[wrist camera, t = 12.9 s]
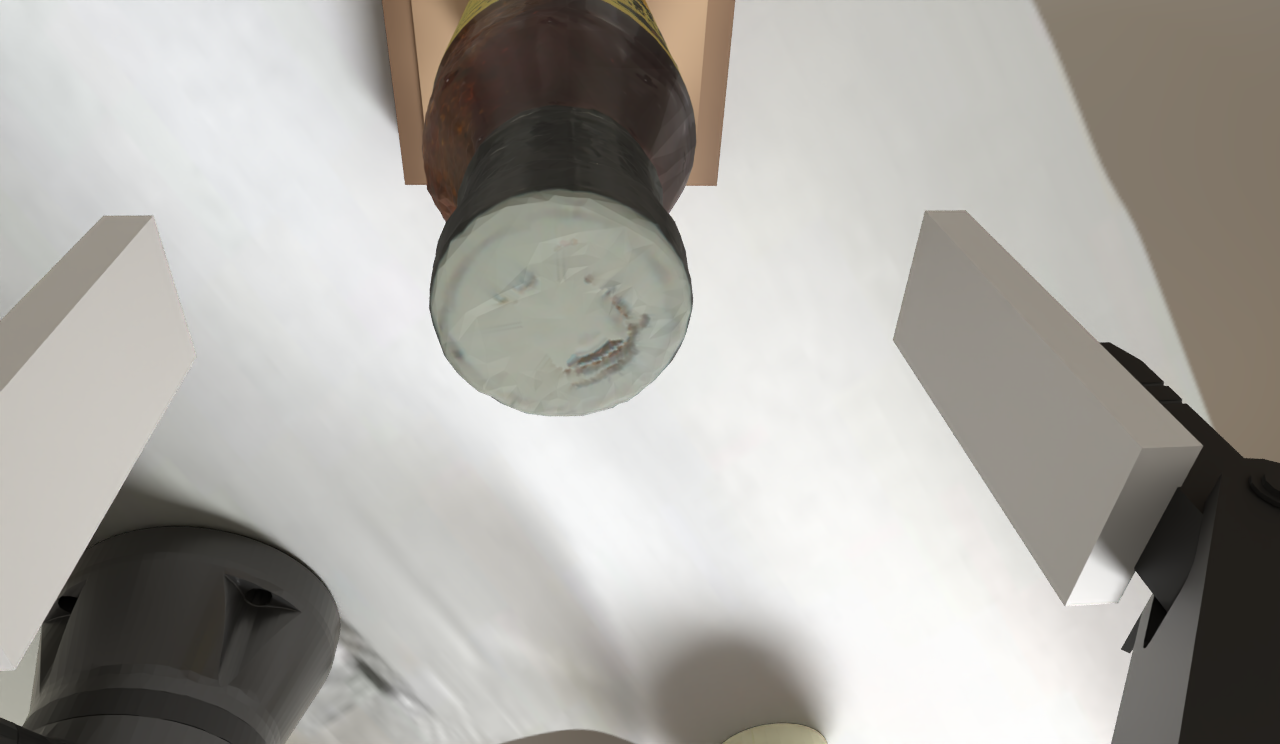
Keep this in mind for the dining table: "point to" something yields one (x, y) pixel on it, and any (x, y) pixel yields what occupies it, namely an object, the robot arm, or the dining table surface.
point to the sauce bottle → (559, 202)
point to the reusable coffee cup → (778, 735)
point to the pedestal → (682, 8)
